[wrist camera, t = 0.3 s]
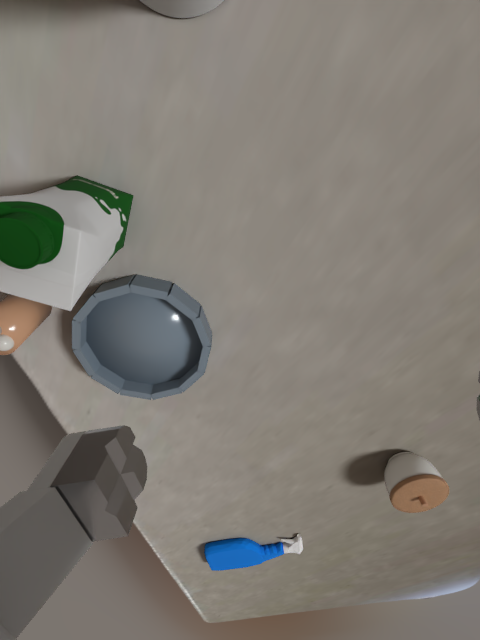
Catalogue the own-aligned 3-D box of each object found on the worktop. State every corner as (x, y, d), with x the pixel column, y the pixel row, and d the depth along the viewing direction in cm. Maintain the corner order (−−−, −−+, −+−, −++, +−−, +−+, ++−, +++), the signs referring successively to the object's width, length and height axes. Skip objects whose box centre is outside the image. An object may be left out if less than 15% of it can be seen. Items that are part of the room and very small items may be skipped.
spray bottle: (211, 573, 87) (305, 561, 85) (201, 552, 81) (302, 539, 80) (212, 561, 89) (303, 548, 88) (202, 539, 84) (299, 526, 82)
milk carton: (142, 190, 42) (79, 234, 25) (128, 255, 46) (66, 332, 29) (69, 164, 40) (-52, 191, 23) (62, 234, 45) (-45, 302, 27)
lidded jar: (430, 439, 67) (457, 483, 58) (427, 473, 72) (452, 517, 64) (375, 448, 67) (395, 492, 59) (376, 480, 73) (394, 525, 65)
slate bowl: (55, 297, 49) (44, 308, 46) (184, 260, 47) (180, 269, 44) (117, 395, 59) (111, 409, 56) (226, 368, 56) (225, 382, 53)
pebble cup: (3, 292, 49) (-49, 329, 39) (38, 282, 48) (-7, 318, 39) (26, 324, 51) (-18, 365, 42) (59, 314, 51) (21, 355, 42)
